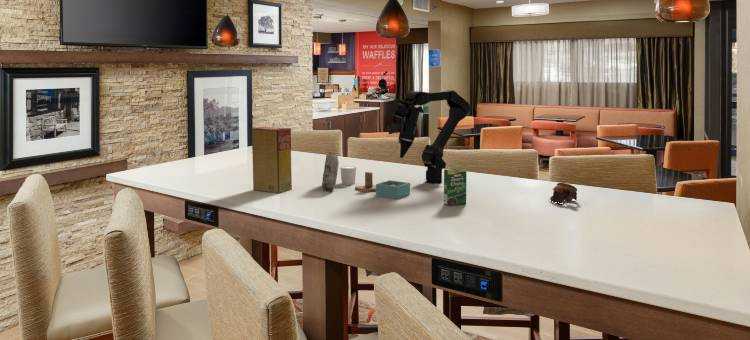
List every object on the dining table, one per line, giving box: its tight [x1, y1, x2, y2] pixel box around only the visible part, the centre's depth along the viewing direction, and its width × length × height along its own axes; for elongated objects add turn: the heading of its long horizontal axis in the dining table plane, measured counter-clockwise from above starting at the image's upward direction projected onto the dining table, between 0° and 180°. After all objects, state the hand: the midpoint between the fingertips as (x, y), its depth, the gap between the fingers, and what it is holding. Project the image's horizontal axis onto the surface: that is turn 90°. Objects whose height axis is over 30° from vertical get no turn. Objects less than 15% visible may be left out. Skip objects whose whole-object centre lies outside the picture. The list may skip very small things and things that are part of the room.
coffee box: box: [443, 167, 467, 207], centre depth 206 cm, size 8×3×13 cm, turn 111°
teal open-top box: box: [375, 179, 411, 200], centre depth 222 cm, size 10×10×4 cm
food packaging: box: [251, 126, 293, 194], centre depth 230 cm, size 13×9×25 cm
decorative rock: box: [321, 151, 339, 190], centre depth 234 cm, size 16×7×15 cm, turn 0°
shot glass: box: [339, 165, 357, 186], centre depth 245 cm, size 7×7×7 cm
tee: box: [354, 171, 376, 193], centre depth 232 cm, size 8×8×7 cm
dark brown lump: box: [549, 182, 578, 204], centre depth 210 cm, size 12×10×8 cm
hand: (401, 157), depth 238 cm, fingers open, 9 cm apart
